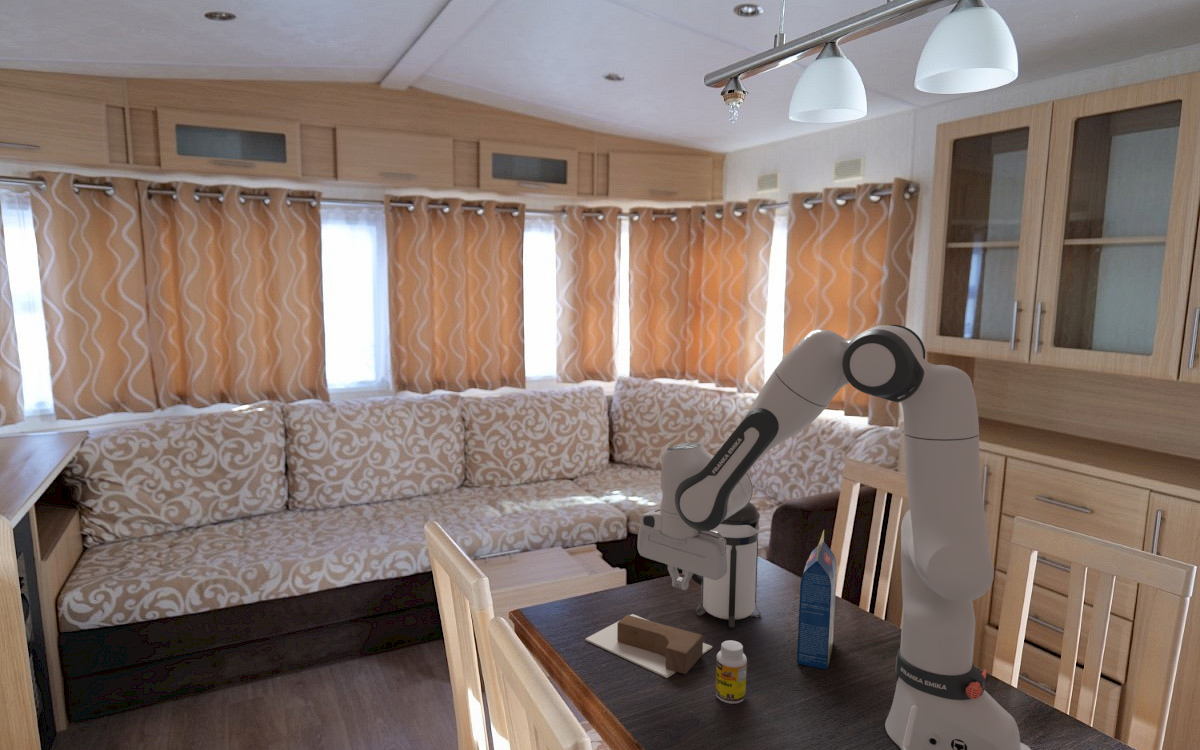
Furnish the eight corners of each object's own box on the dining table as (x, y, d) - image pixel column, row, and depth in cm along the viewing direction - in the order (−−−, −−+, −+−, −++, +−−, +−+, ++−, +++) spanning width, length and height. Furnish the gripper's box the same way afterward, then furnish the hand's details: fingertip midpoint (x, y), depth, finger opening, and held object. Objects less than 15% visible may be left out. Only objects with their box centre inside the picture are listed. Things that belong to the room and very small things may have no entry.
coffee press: (757, 601, 174) (762, 482, 170) (763, 633, 158) (768, 501, 155) (686, 597, 176) (688, 478, 173) (684, 627, 161) (687, 498, 157)
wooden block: (686, 653, 140) (606, 630, 149) (685, 675, 140) (606, 651, 149) (703, 634, 147) (626, 613, 156) (703, 655, 148) (626, 633, 157)
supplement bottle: (709, 695, 134) (710, 643, 133) (729, 685, 138) (731, 634, 136) (731, 709, 130) (733, 656, 129) (751, 698, 133) (753, 646, 132)
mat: (712, 648, 152) (712, 646, 152) (667, 678, 140) (667, 676, 140) (632, 615, 166) (632, 613, 166) (585, 640, 154) (585, 638, 154)
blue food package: (795, 663, 146) (801, 545, 143) (803, 637, 157) (808, 527, 154) (828, 670, 143) (834, 550, 140) (833, 643, 154) (839, 531, 151)
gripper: (734, 530, 140) (732, 597, 141) (652, 507, 153) (650, 569, 155) (717, 538, 135) (715, 608, 137) (633, 514, 149) (632, 578, 150)
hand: (680, 587), depth 146 cm, fingers closed
